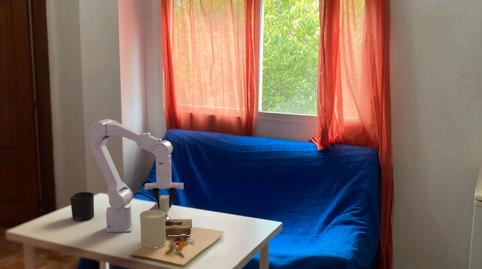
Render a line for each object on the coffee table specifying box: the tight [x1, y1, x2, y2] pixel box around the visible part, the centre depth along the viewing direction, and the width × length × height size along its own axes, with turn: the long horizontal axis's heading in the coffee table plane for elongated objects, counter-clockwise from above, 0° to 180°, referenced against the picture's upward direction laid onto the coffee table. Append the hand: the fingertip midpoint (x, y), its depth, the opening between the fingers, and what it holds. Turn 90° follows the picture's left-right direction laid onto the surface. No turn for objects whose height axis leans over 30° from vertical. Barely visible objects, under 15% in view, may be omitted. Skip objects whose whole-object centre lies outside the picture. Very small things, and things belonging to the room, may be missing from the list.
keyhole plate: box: [165, 218, 193, 236], centre depth 197 cm, size 14×10×3 cm
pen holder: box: [69, 191, 95, 222], centre depth 212 cm, size 9×9×10 cm
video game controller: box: [148, 201, 160, 210], centre depth 220 cm, size 10×5×7 cm, turn 168°
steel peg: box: [159, 194, 171, 222], centre depth 196 cm, size 4×4×10 cm
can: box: [139, 209, 167, 249], centre depth 185 cm, size 9×9×12 cm
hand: (164, 206), depth 195 cm, fingers closed on steel peg, 4 cm apart
